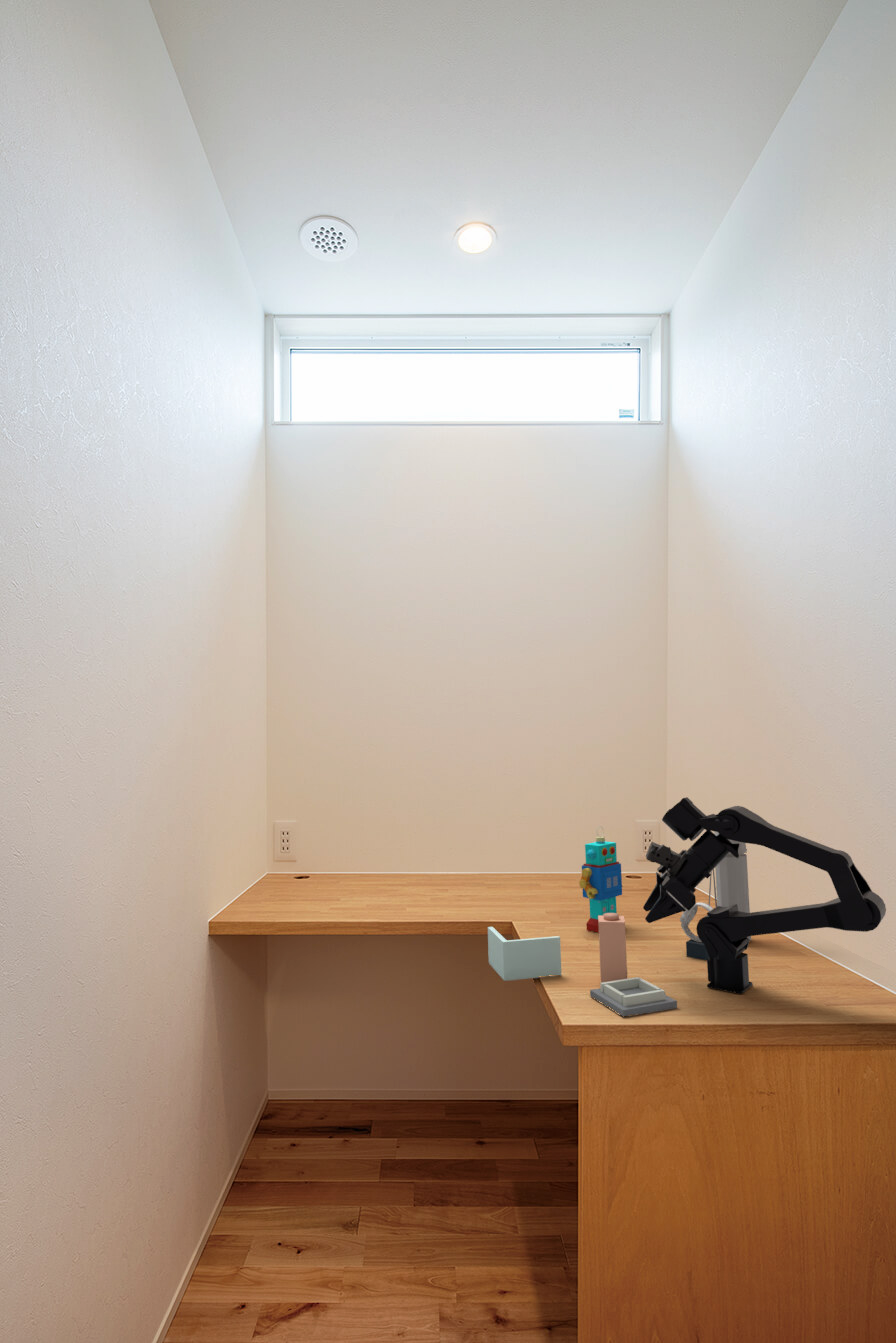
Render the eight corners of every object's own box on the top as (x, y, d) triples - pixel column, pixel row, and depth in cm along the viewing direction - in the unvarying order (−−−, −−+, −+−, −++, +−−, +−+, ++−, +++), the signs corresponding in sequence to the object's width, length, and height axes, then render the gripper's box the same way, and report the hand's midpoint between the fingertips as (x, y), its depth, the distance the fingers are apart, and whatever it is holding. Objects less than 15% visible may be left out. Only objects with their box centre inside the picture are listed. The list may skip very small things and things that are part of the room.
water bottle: (755, 938, 173) (749, 829, 175) (747, 947, 167) (741, 833, 169) (715, 933, 179) (709, 827, 181) (705, 941, 172) (700, 831, 174)
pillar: (626, 977, 149) (623, 911, 150) (627, 986, 144) (624, 918, 145) (600, 977, 150) (598, 911, 151) (601, 985, 145) (598, 917, 146)
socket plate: (641, 988, 143) (640, 973, 143) (677, 1008, 132) (676, 992, 132) (590, 996, 139) (589, 981, 139) (623, 1017, 128) (622, 1001, 129)
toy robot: (600, 936, 179) (596, 829, 181) (580, 931, 183) (576, 827, 185) (629, 927, 186) (624, 825, 188) (609, 922, 191) (605, 823, 193)
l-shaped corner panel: (561, 975, 151) (560, 937, 152) (504, 980, 149) (503, 942, 149) (542, 958, 163) (540, 922, 164) (488, 962, 161) (487, 927, 161)
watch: (688, 949, 167) (686, 898, 168) (724, 955, 161) (721, 903, 162) (677, 955, 163) (675, 903, 163) (714, 961, 157) (711, 908, 158)
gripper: (666, 822, 156) (614, 876, 158) (673, 835, 138) (614, 895, 140) (707, 861, 154) (655, 915, 155) (720, 879, 136) (661, 940, 137)
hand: (645, 915), depth 147 cm, fingers open, 9 cm apart
